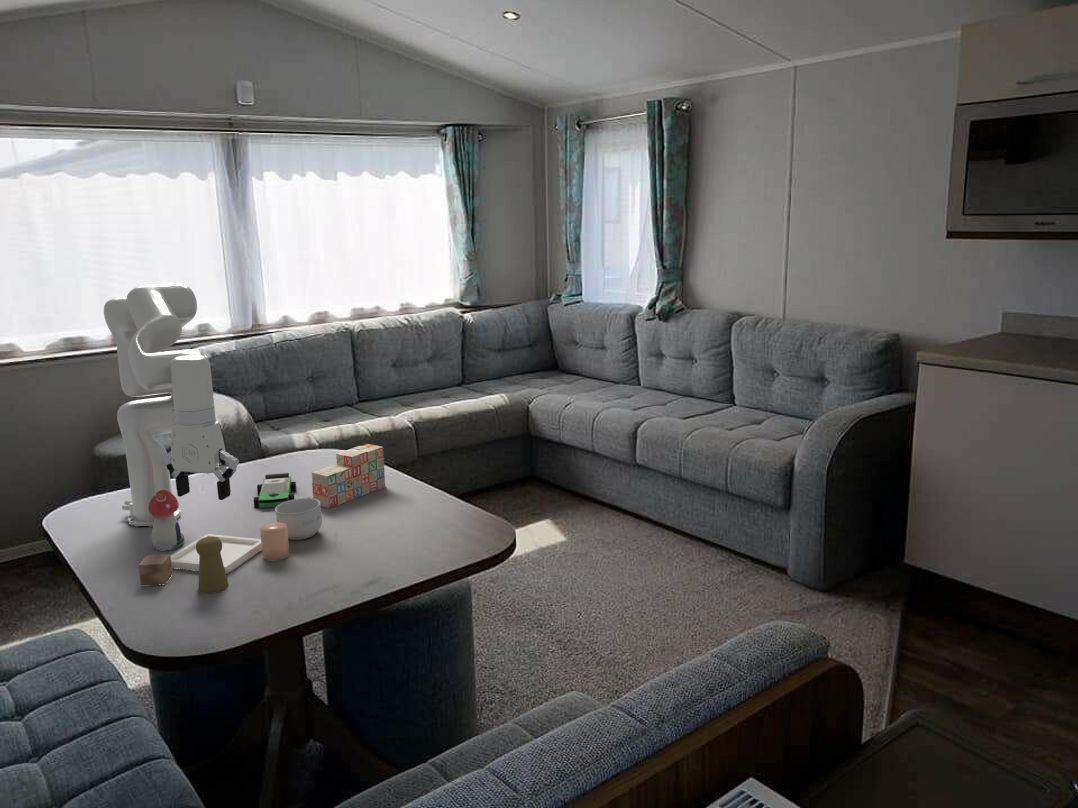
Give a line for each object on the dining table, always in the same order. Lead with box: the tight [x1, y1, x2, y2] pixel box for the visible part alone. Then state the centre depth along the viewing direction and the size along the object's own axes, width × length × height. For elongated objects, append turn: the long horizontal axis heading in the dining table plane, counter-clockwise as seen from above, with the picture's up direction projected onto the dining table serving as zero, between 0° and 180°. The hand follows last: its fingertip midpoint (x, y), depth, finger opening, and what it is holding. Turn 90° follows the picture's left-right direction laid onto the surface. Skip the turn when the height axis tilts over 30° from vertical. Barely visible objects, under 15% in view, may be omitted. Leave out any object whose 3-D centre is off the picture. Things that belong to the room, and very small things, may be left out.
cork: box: [196, 537, 229, 594], centre depth 178 cm, size 6×6×11 cm
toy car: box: [253, 472, 297, 509], centre depth 234 cm, size 10×19×5 cm, turn 13°
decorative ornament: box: [148, 490, 185, 552], centre depth 199 cm, size 9×7×15 cm
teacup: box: [274, 495, 323, 541], centre depth 207 cm, size 14×11×8 cm
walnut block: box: [138, 554, 174, 586], centre depth 182 cm, size 5×5×5 cm
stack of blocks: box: [311, 443, 386, 509], centre depth 234 cm, size 21×6×12 cm, turn 146°
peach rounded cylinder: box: [259, 522, 290, 562], centre depth 194 cm, size 6×6×7 cm
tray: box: [170, 533, 262, 575], centre depth 194 cm, size 16×16×2 cm
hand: (204, 496), depth 174 cm, fingers open, 9 cm apart
